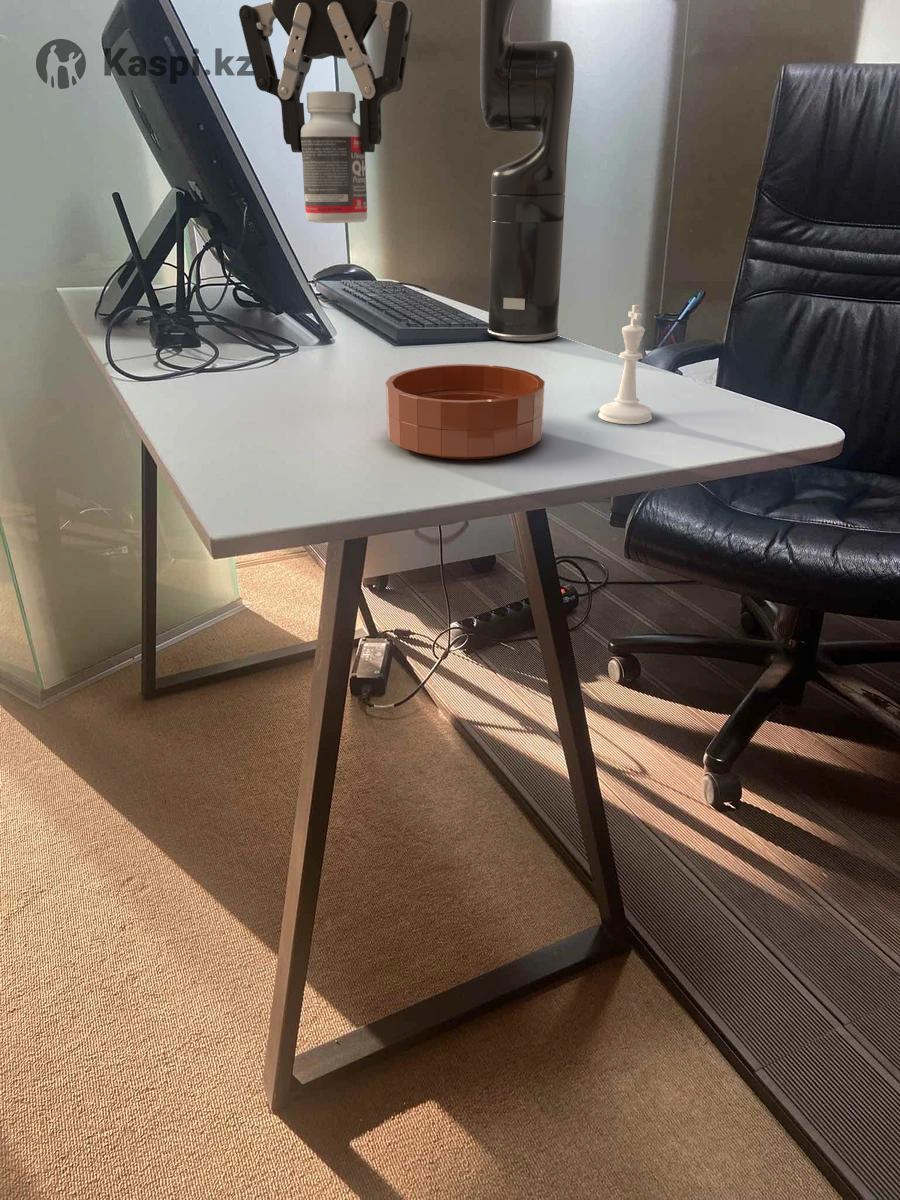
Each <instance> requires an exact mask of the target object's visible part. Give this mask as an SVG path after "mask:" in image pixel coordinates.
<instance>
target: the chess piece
mask: <svg viewBox="0 0 900 1200" xmlns="http://www.w3.org/2000/svg"><path fill="white" fill-rule="evenodd" d="M639 312H640V305H639V304H632V307H631V310H629V311H628V315H627V316H628V317H629V318H630V324H628V325H625V326H623V327H622V328H621V333H622V334H621V335H622V337H623V342H624V343H623V344H624V347H625V350H624V351H622V352H619V354H618V358H620V359H621V360H624V365H623V371H622V376H621V379H620V380H621V381H620V385H619V389H618V393H617V396H615V397H614V398H613V400H614V401H611V402H608V403H605V404H602V406H600V407H599V413H598V417H599V419H601V420H603V421H605V422H608V423H612V424H619V425H640V424H646V423H648V422H650V421H651V420H652V419H653V416H652V413H653V411H652V409H651V408H650V407H649V406H647V405H645V404H642V403H640V399H639V398H638V397H637V382H636V380H637V378H636V377H637V375H636V373H637V372H636V368H637V367H636V362H637V361H638V360H642V359H643V358H644V357H643V353H641V352H639V351H638V348H639V346H640V344H641V341H642V339H643V336H644V335H645V331H646V329H645V327H643V326H641V325H639V324H638V321H639V320H642V315H643V313H639Z"/></svg>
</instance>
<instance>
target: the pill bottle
mask: <svg viewBox="0 0 900 1200" xmlns="http://www.w3.org/2000/svg"><path fill="white" fill-rule="evenodd" d="M356 101H357V100H356V94H355V93H354V92H351V91H337V90H318V91H309V92H306V109H307V113H308V114H310V119H309V121H307V122H305V124H304V125H303V126H302V128H301V148H302V153H301V160H302V161H301V162H302V177H303V179H302V180H303V194H304V207H305V219H306V220H307V221H308V222H311V223H320V224H345V223H347V224H349V223H351V224H352V223H364V222H366V221H367V219H368V195H367V193H368V192H367V190H368V189H367V167H366V165H367V163H366V152H362V149H361V132H360V123H357V122H355V120H354V114H355V113H356V109H357V104H356V103H357V102H356Z"/></svg>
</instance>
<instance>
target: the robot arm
mask: <svg viewBox="0 0 900 1200" xmlns="http://www.w3.org/2000/svg"><path fill="white" fill-rule="evenodd" d="M480 1H481V2H480V54H479V55H480V57H479V58H480V61H479V64H480V65H479V94H480V106H481V113H482V114H481V115H482V118H483V121H484V124H485V126H486V127H487V129H489V130H490V131H493V132H498V133H499V132H500V133H501V132H503V133H511V132H512V133H538V132H540V133H541V137H540V140H539V142H538V143H537V145H536V146H535V147H534V148H533V149H532V150H531V151H529V152H528V153H527V154H525V155H523V156H521V157H520V158H518V159H516V160H513V161H510V162H507V163H505V164H503V165H500V166H498V167H496V168H495V169H493V171H492V173H491V179H490V242H489V245H490V246H489V288H488V289H489V290H488V327H489V328H490V329H491V330H489V328H488V327H487V336H488V337H489V338H493V339H496V340H502V341H508V342H542V341H549V340H553V339H555V338H558V336H559V328H558V325H559V310H560V292H561V276H562V255H563V254H562V253H563V239H564V220H565V219H564V218H565V204H566V203H565V201H566V194H565V193H566V180H567V179H566V178H567V160H568V157H567V156H568V145H569V132H570V123H571V113H572V105H573V96H574V95H573V94H574V81H575V62H574V61H575V60H574V55H573V50H572V48H571V47H570V45H569V44H568V43H567V42H565V41H564V40H563V41H562V40H533V41H532V40H531V41H530V40H529V41H511V39H510V36H511V35H510V33H511V32H510V31H511V22H512V18H513V13H514V9H515V6H516V2H517V0H480ZM238 16H239V21H240V24H241V29H242V33H243V37H244V40H245V45H246V49H247V53H248V57H249V60H250V65H251V69H252V73H253V78H254V82H255V85H256V87H257V89H258V90H259V91H262V92H265V93H268V94H270V95H272V96H275V97H276V98H277V99H278V100H279V102H280V107H281V121H282V134H283V141H284V142H285V144H286V145H290V149H291V152H292V153H299V154H302V148H301V128H302V126H303V125H304V124H306V120H305V106H304V105H305V103H304V102H301V95H302V92H303V88H304V84H305V81H306V78H307V75H308V74H309V72H310V70H311V66H312V63H313V60H323V59H325V58H329V57H334V58H338V59H341V60H344V59H346V62H347V64H348V66H349V68H350V70H351V72H352V74H353V76H354V79H355V82H356V84H357V86H358V89H359V91H360V94H361V97H362V100H359V101H358V102H359V103H358V107H359V125H360V132H361V149H362V152H365V153H375V150H376V145H380V144H381V141H382V138H383V137H382V136H383V135H382V134H383V133H382V106H381V105H382V101H383V99H384V98H385V97H386V96H388V95H391V94H392V93H393V94H394V93H397V92H399V91H400V90H401V89H402V88H403V84H404V77H405V70H406V63H407V57H408V56H407V55H408V49H409V48H408V47H409V42H410V36H411V29H412V21H413V11H412V9H411V8H410V7H409V6H408V5H406V4H405V2H403V1H401V0H398V1H394V2H390V1H385V0H271V1H269V2H266V3H263V4H258V5H255V6H251V5H248V4H243V5H242V6H241V7H240V8H239V10H238ZM378 16H379V18H380V20H381V29H382V31H383V32H384V33H385V34H387V39H386V40H387V42H386V49H385V54H384V55H385V56H384V63H383V71H382V75H381V76H379V77H377V76H376V72H375V70H374V68H373V67H374V66H373V63H372V60H371V57H370V54H369V52H368V49H367V46H366V44H365V38H366V37H367V35H368V33H369V31H370V29H371V28H372V26H373V24H374V23H375V20H376V19H377V17H378ZM275 20H277V21H278V22H279V24H280V26H281V27H282V28H283V30H284V32H285V33H286V35H287V37H289V38H288V41H287V45H286V49H285V52H284V56H283V60H282V61H283V68H282V71H281V75H280V78H279V77H278V76H279V75H278V73H277V72H278V71H277V68H276V64H275V59H274V56H273V52H272V46H271V43H270V40H269V38H270V37H271V36H273V32H274V21H275Z"/></svg>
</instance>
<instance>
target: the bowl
mask: <svg viewBox="0 0 900 1200" xmlns="http://www.w3.org/2000/svg"><path fill="white" fill-rule="evenodd" d="M384 383H385V408H386V411H385V412H386V433H387V437H388V438H389V441H390V442H392V443H393V444H395V445H397V446H398V447H400V448H402V449H406V450H409V451H412V452H414V453H416V454H420V455H424V456H428V457H433V458H439V459H447V460H483V459H492V458H497V457H504V456H507V455H511V454H513V453H516V452H519V451H523V450H525V449H528V448H531V447H533V446H534V445H536V444H537V443H538V442H539V441H541V440H542V436H543V426H544V407H545V406H544V405H545V403H544V402H545V386H546V385H545V384H546V382H545V380H544V379H543V378H541V377H540V376H539V375H537V374H535V373H532V372H529V371H527V370H523V369H519V368H515V367H514V368H513V367H509V366H502V365H494V364H493V365H492V364H474V363H473V364H471V363H470V364H469V363H456V364H454V363H453V364H438V365H436V364H435V365H430V366H420V367H417V368H416V367H415V368H411V369H406V370H403V371H400V372H398V373H395V374H393V375H391V376H389V377H388V379H387V380H386V381H385V382H384Z"/></svg>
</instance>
